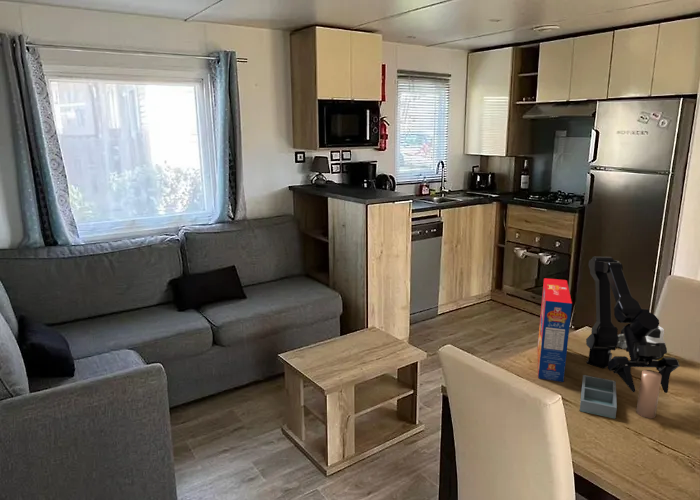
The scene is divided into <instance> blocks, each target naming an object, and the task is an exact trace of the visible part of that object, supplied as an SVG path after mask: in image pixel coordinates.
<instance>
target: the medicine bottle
mask: <svg viewBox="0 0 700 500" xmlns="http://www.w3.org/2000/svg"><path fill="white" fill-rule="evenodd" d="M664 337H665V329H664V328H663V327H662V326H660V325H659V326H658V327H657V328H656V329H655V330H654V331H652V332H651V333H650V334H649V335H648V336H646V340H647V342H650V344H651V346H656V343H665V345H666V346H667V344H666V342H665V340H664ZM661 356H662V357H658V356H656V359H653V360H652V361H659V360H660V359H662V358H663V357H664V358H665V354H661Z"/></svg>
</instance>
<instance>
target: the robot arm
mask: <svg viewBox="0 0 700 500" xmlns="http://www.w3.org/2000/svg"><path fill="white" fill-rule="evenodd" d="M588 268H589V273H590V276H591V277H592V278H593V280H594V283H595V284H594V286H595V315H596V316H595V317H596V319H595V320H596V321H595V323H594V324H593V326H592V327H591V333H590V334H589V336H588V337H587V338H586V340H585V343H586V346H587V347H588V348H589V351H588V360H587V361H586V364H587V365H591V366H594V367H598V368H601V369H607V368H608V369H607V370H608V371H612V372H613V374H616V375H617V376H618V377H620V379H621V380H622V381H623V382H624V383H625V384H626V385H627V387H628V388H629V390H630V391H631V392H632V393H636V386H635V383H634V379H633V375H632V368H656V371H657V372H658V373H660V374H661V375H662V377H661V384H660V387H661V388H662V391H663V392H664V394H667V393H668V392H669V383H670V377H671V373H672V372H674V371H676V369H678V368H679V367H680V363H679V360H678V359H677V358H676V357H665V356H664V357H663V358H662V359H660V360H659V361H654V360H653V359H656V356H658V357H662V356H661V354H664V355H666V354H667V353H668V349H667V344H666V345H665V343H666V342H665V343H656V346H651V344H650V342H647V340H646V336H648V335H649V334H650V333H651V332H652V331H654V330H655V329H656V328H657V327H658V326H660V320H659V318H658V317H657V316H656V315H655V314H653V313H652V312H650V310H649V308H642V307H641V304H640V303H639V301H638V300H636V299H635V298H634V297H633V296H632V294H631V291H630V288H629V285H628V283H627V280H626V276H625V274H624V271H623V269H624V267H623V264H622V263H621V262H620V261H619V260H615V259H614V258H613V257H612V256H592V258H590V259H589V260H588ZM611 290H612V291H611ZM611 292H612V294H613V297H614V300H615V305H614V307H613V313H614V315H613V316H614V318H615V319H616V322H618V323H621V324H626V325H623V327H622V329H621V331H620V334H624V336H625V340H626V344H627V348H625V351H626V353H628V355H629V358H628V357H627V356H620V355H614V356H613V353H611V352H612V351H616V349H617V348H618V347H617V344H618V341H619V338H618V335H619V334H618V333H619V332H618V331H619V329H618V327H617V326H615V325H614V324H613V322H612V300H611V299H612V298H611V297H612V296H611ZM629 359H630V360H629Z"/></svg>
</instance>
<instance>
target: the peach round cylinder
mask: <svg viewBox="0 0 700 500" xmlns="http://www.w3.org/2000/svg"><path fill="white" fill-rule="evenodd" d="M658 372H659V371H657V370H651V369H644V370H642V371H641V378H640V384H639V389H638V397H637V403H636V411H635V412H636V414H637V415H638V416H640V417H642V418H646V419H653V418H654V419H655V417H656V414H657V409H658V402H659V397H660V396H659V395H660V389H661V377H662V375H661V374H660V373H658Z"/></svg>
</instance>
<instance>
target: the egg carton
mask: <svg viewBox="0 0 700 500" xmlns="http://www.w3.org/2000/svg"><path fill="white" fill-rule="evenodd" d="M618 338H619V341H618V344H617V347H616V348H621V349H623V350H626V348H627V344H626V340H625V336H624V334H621V333H619V334H618Z"/></svg>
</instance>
